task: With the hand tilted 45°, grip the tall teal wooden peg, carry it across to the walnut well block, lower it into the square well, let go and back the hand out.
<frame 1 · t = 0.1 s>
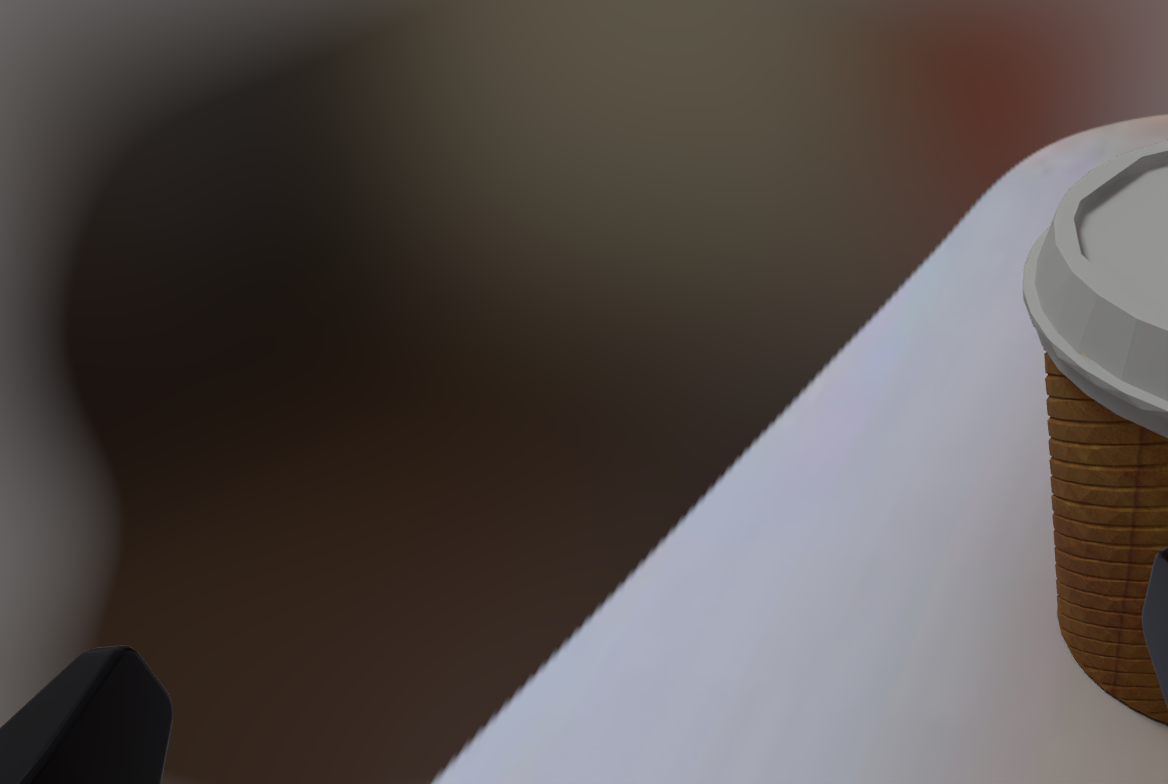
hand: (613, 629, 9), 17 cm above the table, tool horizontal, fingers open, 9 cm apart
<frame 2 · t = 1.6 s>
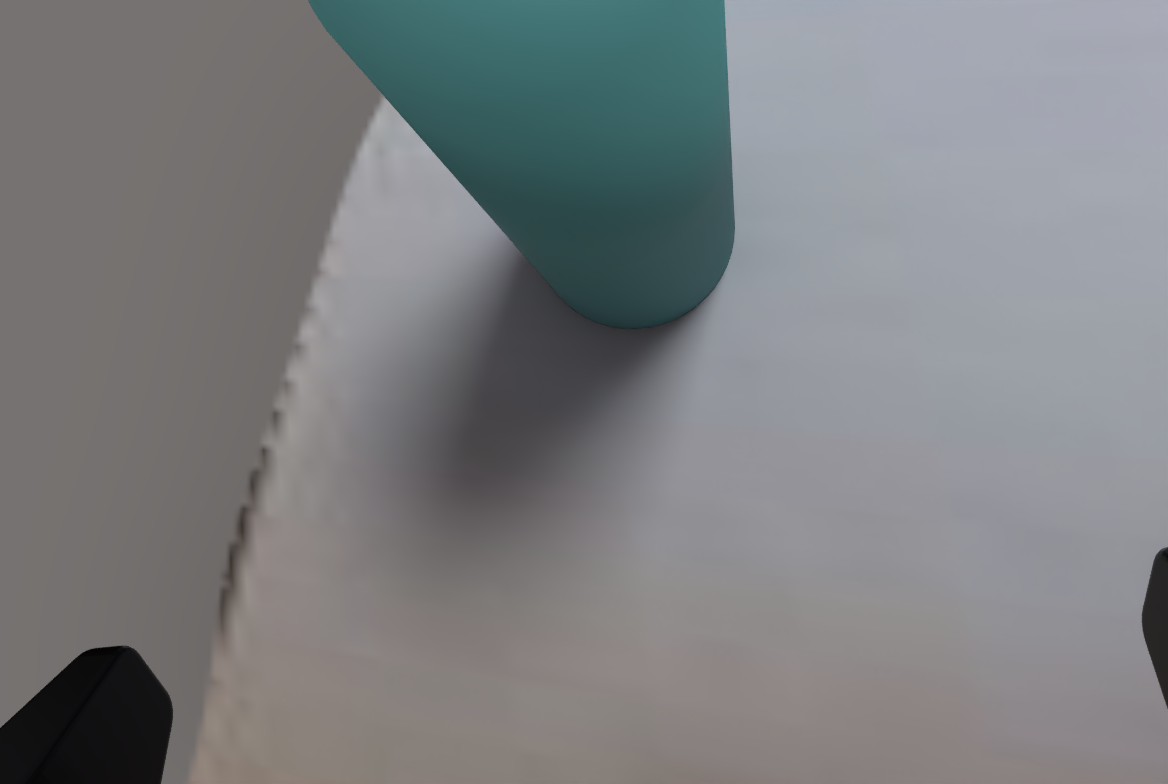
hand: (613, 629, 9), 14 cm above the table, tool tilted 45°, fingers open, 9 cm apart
peg: (634, 230, 23), on the table
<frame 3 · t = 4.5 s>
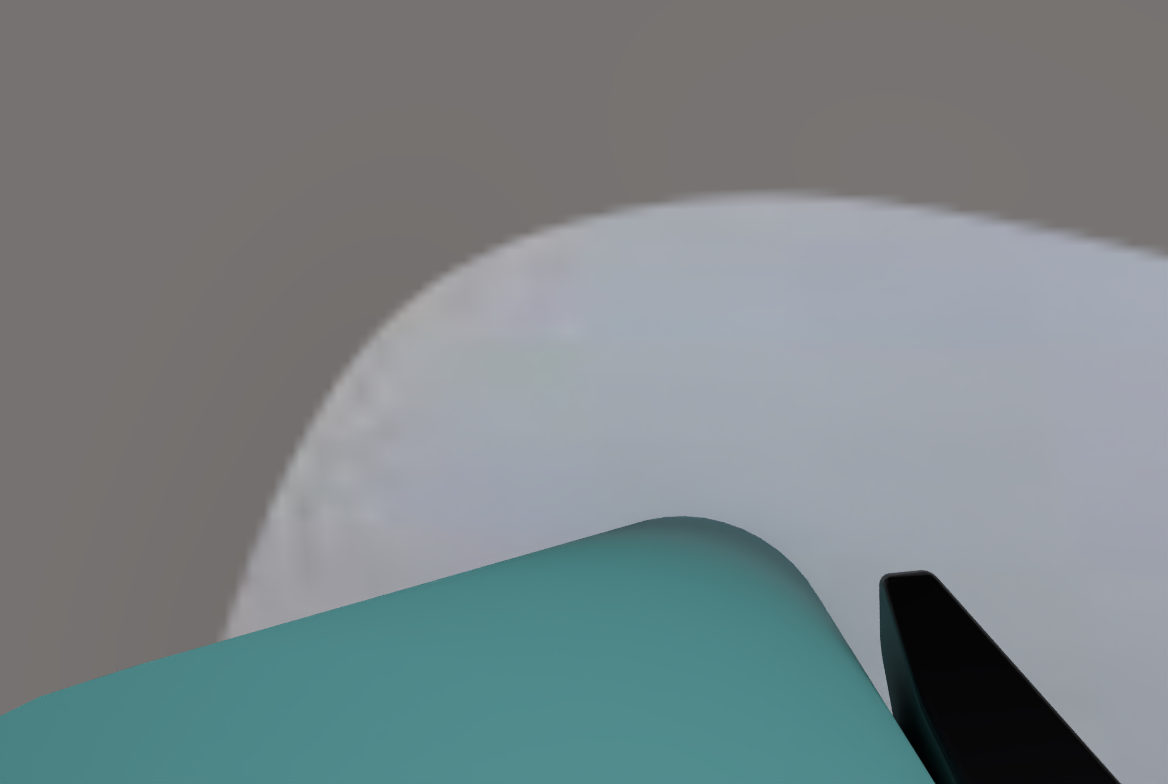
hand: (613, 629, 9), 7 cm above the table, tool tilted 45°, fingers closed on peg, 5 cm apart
peg: (683, 670, 15), on the table, touching gripper
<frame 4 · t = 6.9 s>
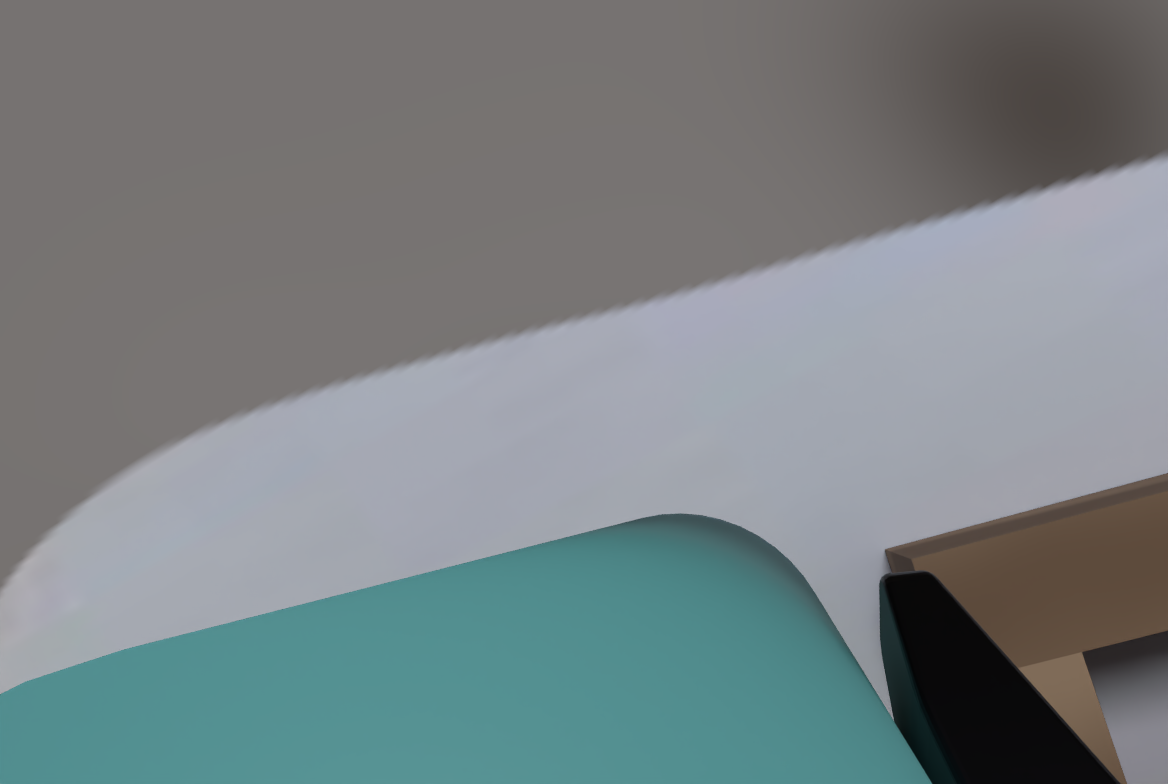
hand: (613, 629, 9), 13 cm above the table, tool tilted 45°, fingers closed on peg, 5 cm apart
peg: (680, 667, 15), point 6 cm above the table, touching gripper
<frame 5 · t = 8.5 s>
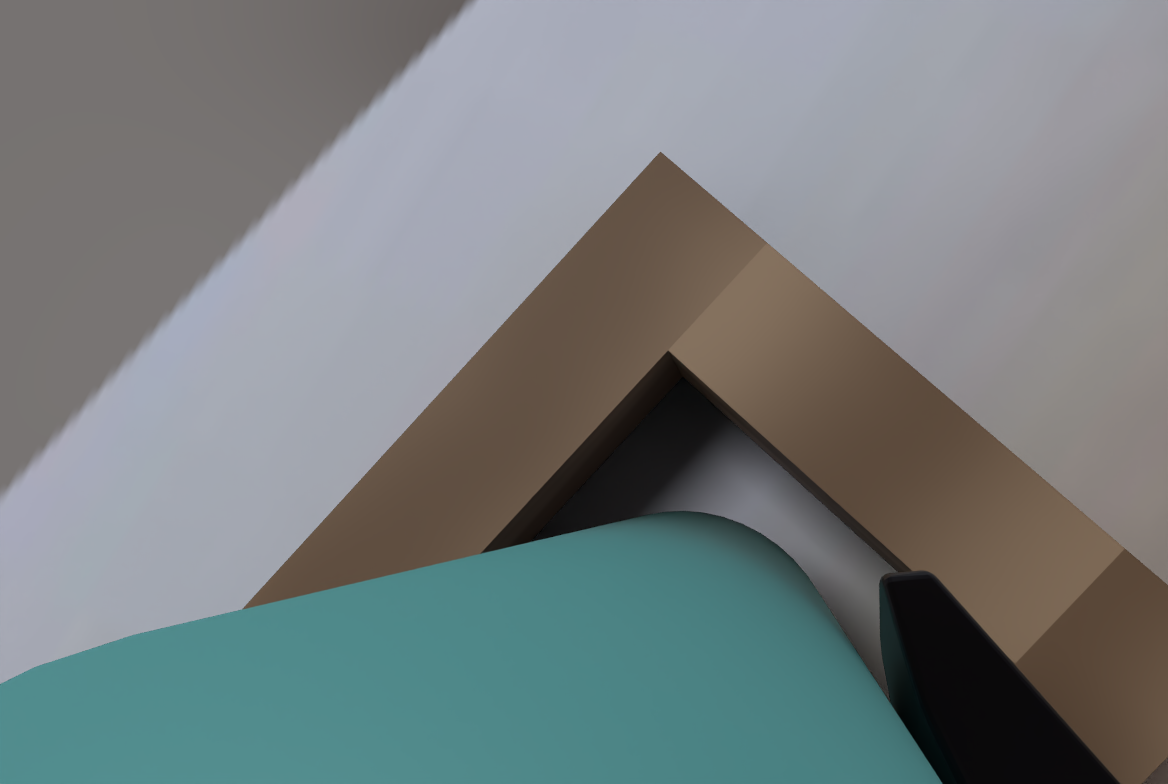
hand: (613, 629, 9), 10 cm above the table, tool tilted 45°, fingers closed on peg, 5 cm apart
well block: (693, 632, 18), on the table
peg: (682, 664, 15), point 3 cm above the table, touching gripper
when the fingers open (8 cm above the table, at t = 9.7 s): peg drops 1 cm, resting in well block.
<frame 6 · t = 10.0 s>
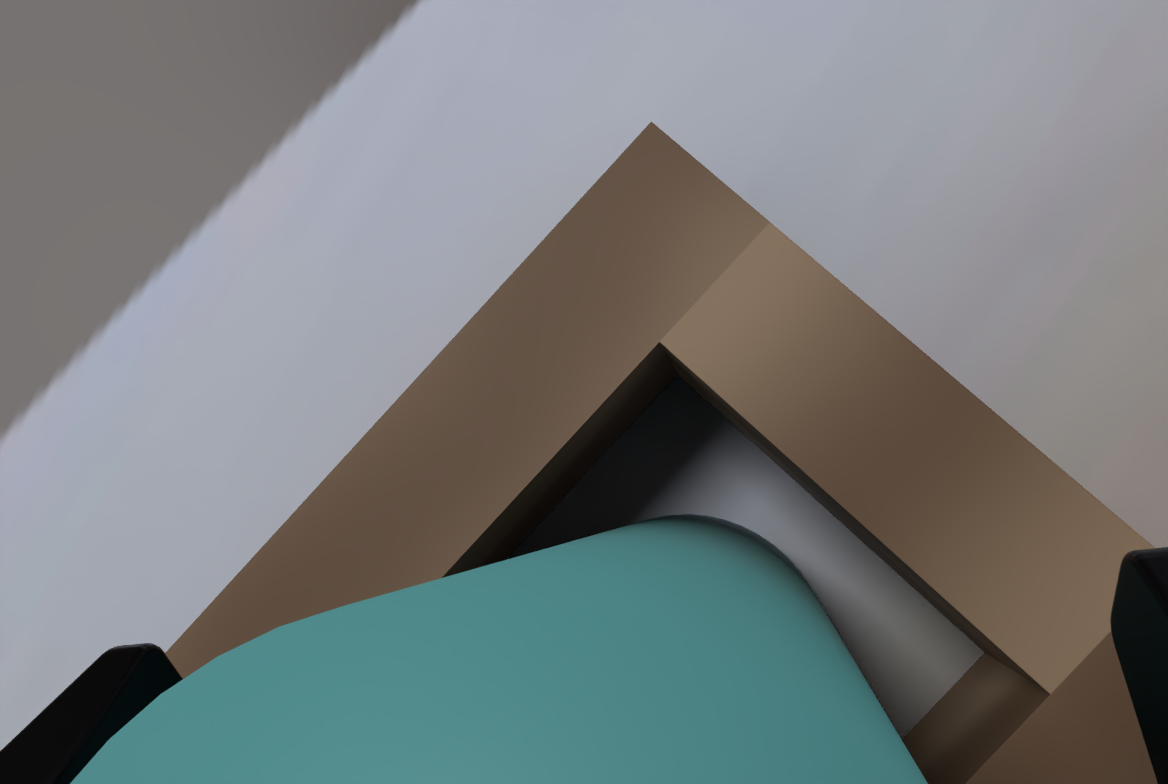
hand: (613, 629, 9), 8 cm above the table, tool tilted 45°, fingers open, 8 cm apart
well block: (688, 654, 17), on the table
peg: (687, 654, 17), resting in well block
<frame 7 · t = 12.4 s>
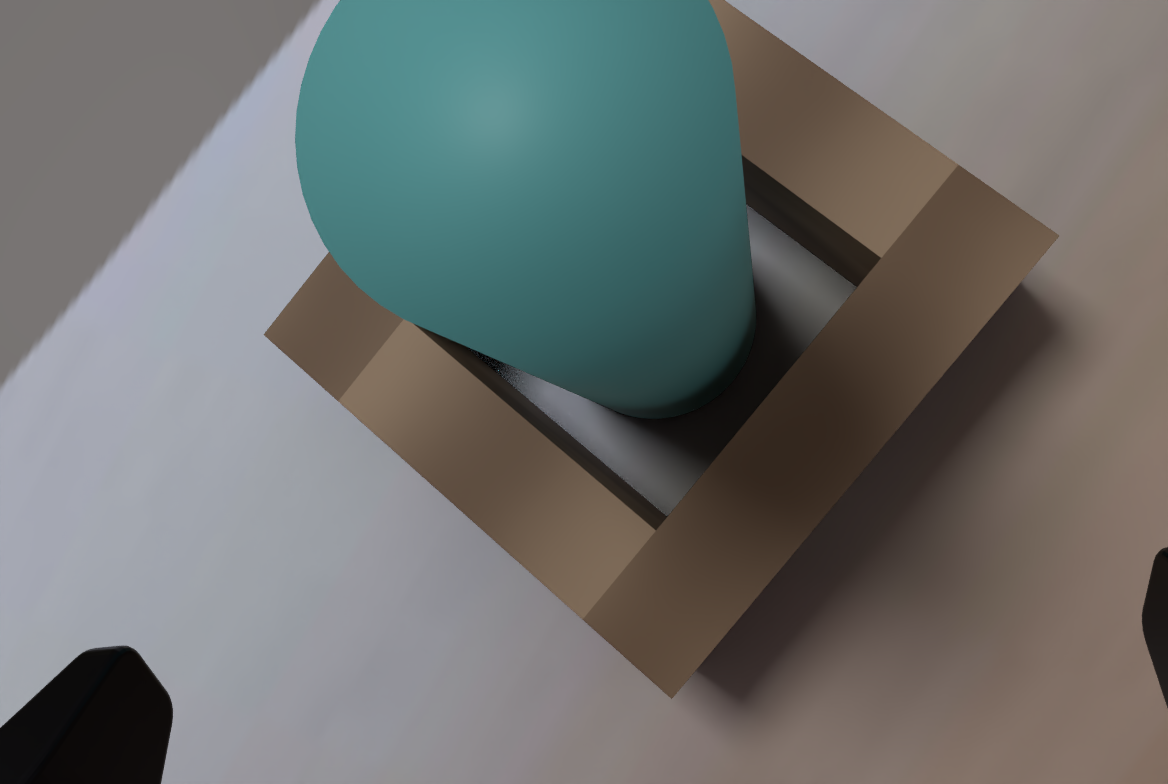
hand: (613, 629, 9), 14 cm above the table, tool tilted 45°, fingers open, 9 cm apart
well block: (654, 317, 23), on the table
peg: (654, 318, 23), resting in well block
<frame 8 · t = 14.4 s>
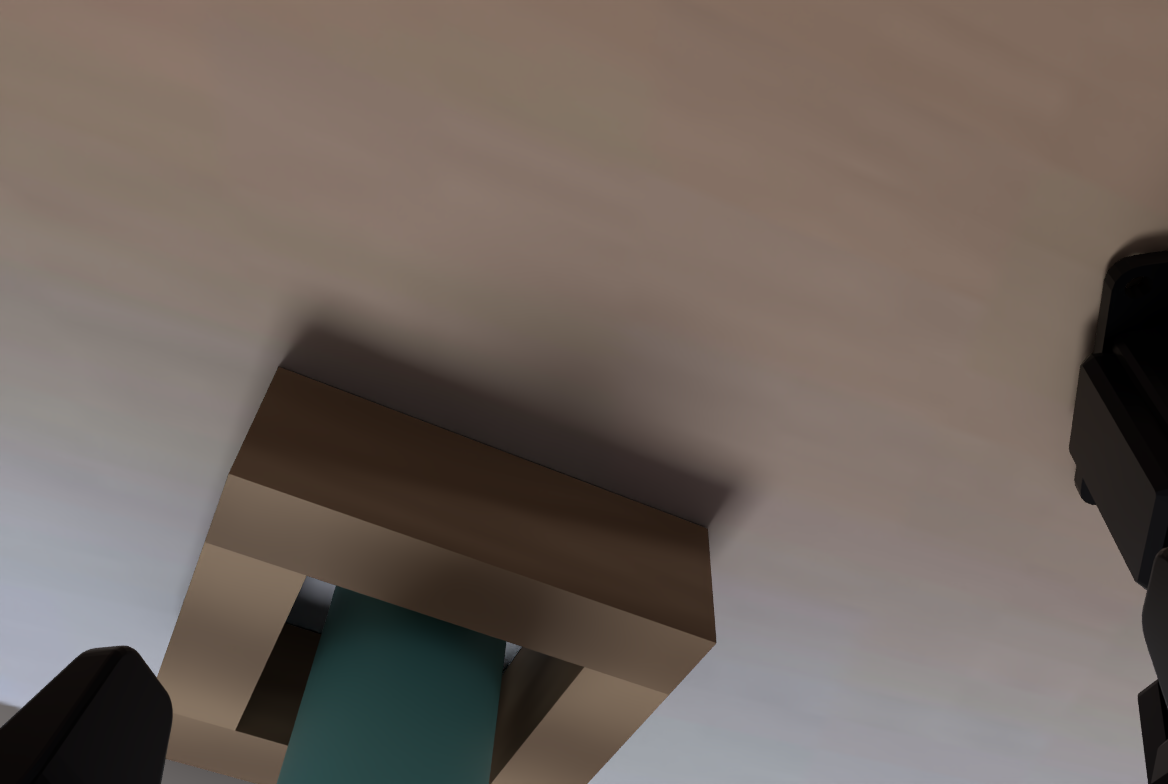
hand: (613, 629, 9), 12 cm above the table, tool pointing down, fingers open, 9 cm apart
well block: (425, 587, 27), on the table
peg: (426, 587, 27), resting in well block
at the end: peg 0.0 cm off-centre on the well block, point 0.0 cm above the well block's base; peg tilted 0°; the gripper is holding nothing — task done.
